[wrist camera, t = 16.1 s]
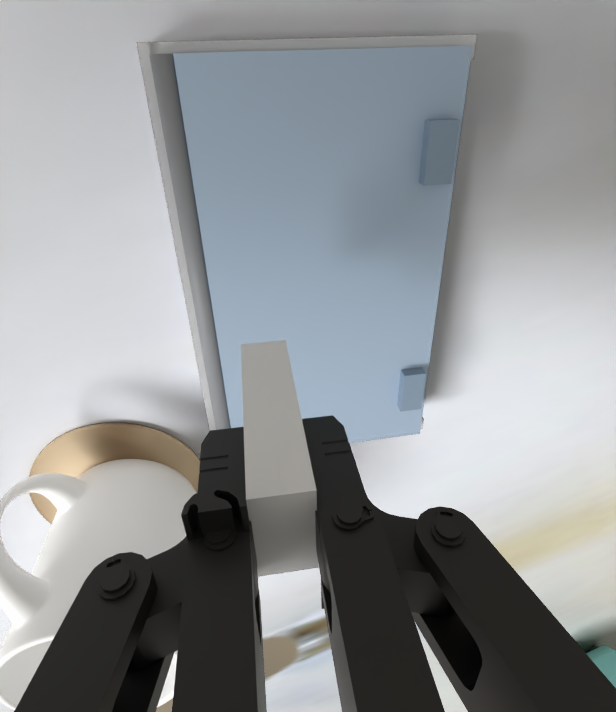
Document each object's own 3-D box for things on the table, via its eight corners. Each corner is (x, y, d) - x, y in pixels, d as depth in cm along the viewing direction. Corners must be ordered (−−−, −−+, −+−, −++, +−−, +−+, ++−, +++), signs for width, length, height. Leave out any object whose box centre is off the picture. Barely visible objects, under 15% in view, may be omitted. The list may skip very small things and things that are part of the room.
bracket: (215, 429, 28) (213, 454, 27) (146, 46, 18) (136, 42, 16) (410, 407, 30) (422, 428, 28) (453, 38, 19) (476, 34, 17)
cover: (220, 450, 26) (220, 468, 25) (150, 55, 16) (145, 53, 15) (414, 424, 28) (423, 440, 26) (462, 47, 18) (480, 44, 16)
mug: (89, 396, 25) (10, 572, 16) (227, 502, 31) (225, 673, 22) (-14, 470, 27) (-138, 667, 18) (135, 557, 33) (99, 738, 24)
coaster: (62, 550, 32) (60, 555, 32) (3, 434, 26) (0, 438, 26) (217, 529, 33) (217, 533, 33) (193, 413, 27) (193, 417, 27)
